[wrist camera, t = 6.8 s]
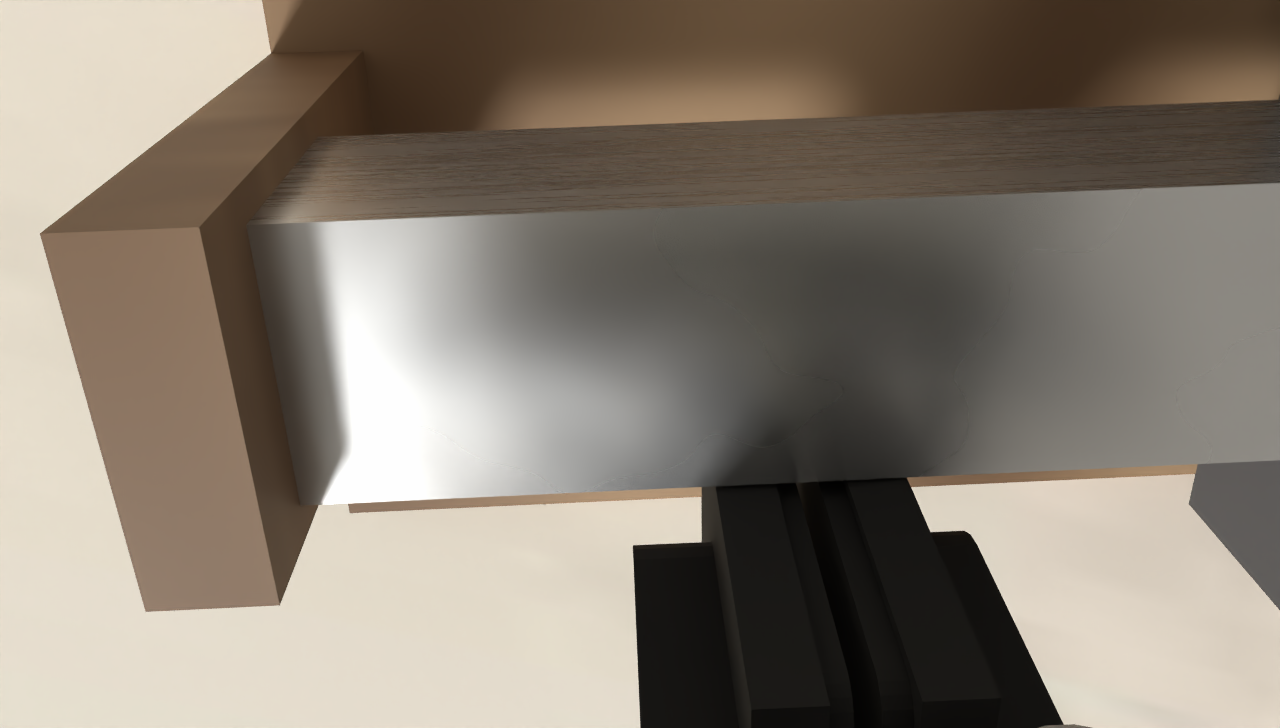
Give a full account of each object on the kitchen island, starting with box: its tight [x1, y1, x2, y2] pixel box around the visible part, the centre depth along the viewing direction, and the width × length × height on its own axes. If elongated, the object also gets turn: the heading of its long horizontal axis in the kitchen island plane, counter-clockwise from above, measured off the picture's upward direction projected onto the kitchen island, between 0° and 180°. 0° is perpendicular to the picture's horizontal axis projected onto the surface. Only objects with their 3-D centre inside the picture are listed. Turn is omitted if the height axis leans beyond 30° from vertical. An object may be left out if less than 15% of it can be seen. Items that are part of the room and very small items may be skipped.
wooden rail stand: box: [40, 0, 1280, 612], centre depth 11 cm, size 18×9×7 cm, turn 92°
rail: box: [246, 100, 1280, 505], centre depth 10 cm, size 17×3×3 cm, turn 92°
